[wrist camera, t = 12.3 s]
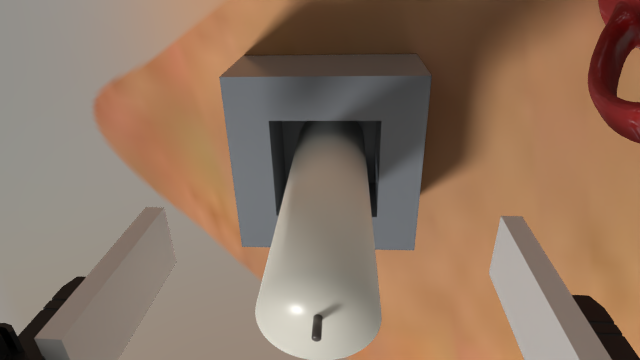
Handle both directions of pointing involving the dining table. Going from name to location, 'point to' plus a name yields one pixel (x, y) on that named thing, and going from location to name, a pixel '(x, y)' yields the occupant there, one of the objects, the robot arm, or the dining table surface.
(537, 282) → the robot arm
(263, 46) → the dining table surface
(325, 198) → the candle
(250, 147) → the holder
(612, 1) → the mug
